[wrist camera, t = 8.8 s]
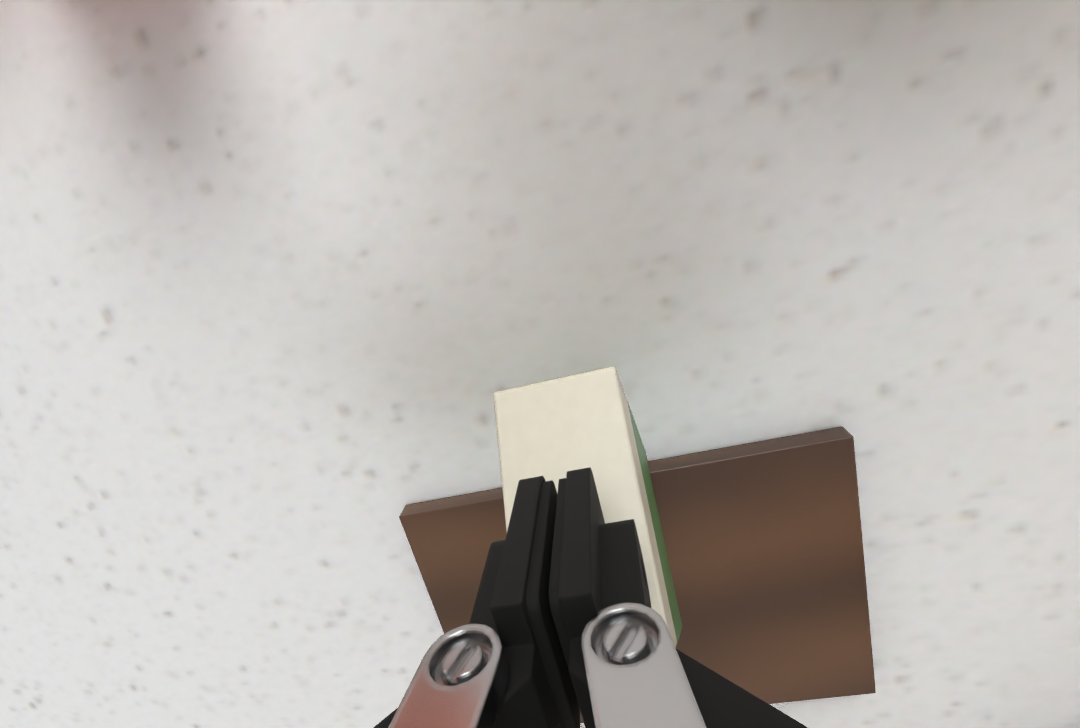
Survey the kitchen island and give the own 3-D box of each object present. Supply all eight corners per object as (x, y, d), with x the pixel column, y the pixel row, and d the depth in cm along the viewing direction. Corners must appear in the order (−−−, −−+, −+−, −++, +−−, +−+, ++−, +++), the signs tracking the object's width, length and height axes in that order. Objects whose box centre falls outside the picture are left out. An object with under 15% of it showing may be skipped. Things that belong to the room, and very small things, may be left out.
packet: (492, 391, 15) (518, 676, 12) (614, 364, 14) (673, 658, 11) (567, 464, 24) (593, 638, 21) (644, 449, 23) (682, 627, 20)
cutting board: (405, 504, 26) (398, 516, 25) (842, 425, 23) (853, 436, 22) (486, 716, 30) (482, 733, 29) (865, 675, 27) (876, 693, 26)
